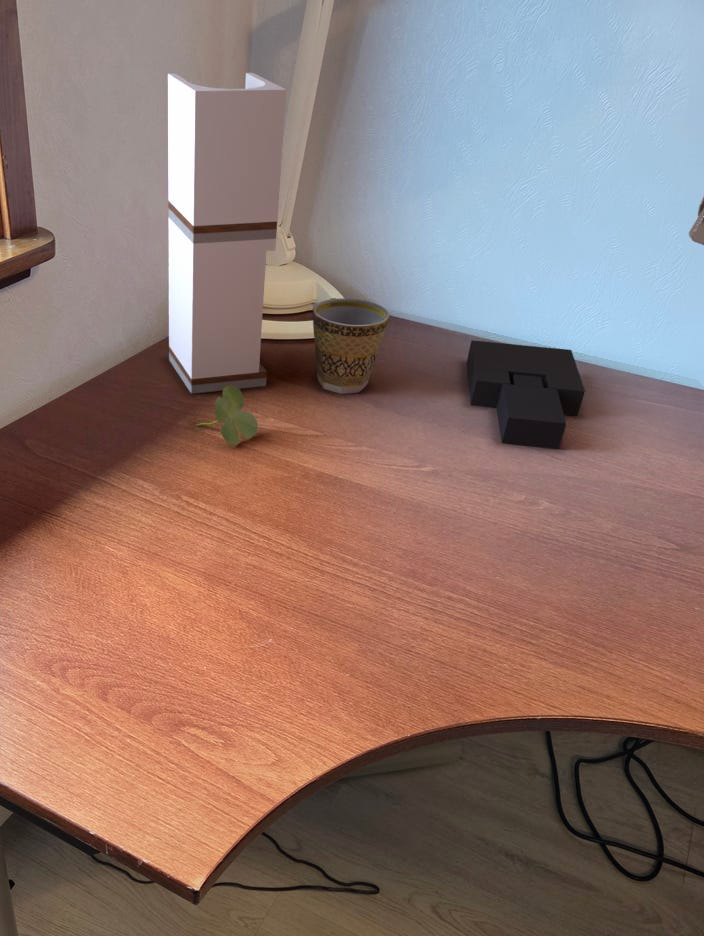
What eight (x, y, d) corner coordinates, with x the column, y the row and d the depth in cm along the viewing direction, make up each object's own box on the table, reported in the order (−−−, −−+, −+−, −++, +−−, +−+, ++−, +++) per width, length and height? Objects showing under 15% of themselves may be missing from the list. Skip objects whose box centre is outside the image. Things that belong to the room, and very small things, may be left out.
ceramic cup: (389, 396, 121) (400, 323, 115) (318, 401, 119) (326, 327, 113) (356, 358, 131) (365, 288, 125) (291, 362, 129) (297, 292, 123)
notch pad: (564, 373, 129) (571, 349, 127) (577, 416, 119) (585, 391, 117) (466, 363, 131) (471, 340, 129) (470, 405, 120) (476, 380, 118)
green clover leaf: (218, 465, 115) (256, 454, 111) (173, 442, 110) (212, 429, 105) (223, 414, 117) (261, 401, 112) (179, 388, 111) (217, 374, 107)
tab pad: (547, 402, 122) (554, 378, 119) (558, 449, 112) (566, 423, 109) (494, 397, 122) (500, 372, 120) (501, 443, 112) (508, 417, 110)
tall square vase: (265, 385, 123) (286, 89, 100) (191, 393, 120) (195, 91, 97) (239, 353, 131) (252, 72, 108) (169, 359, 128) (167, 73, 106)
